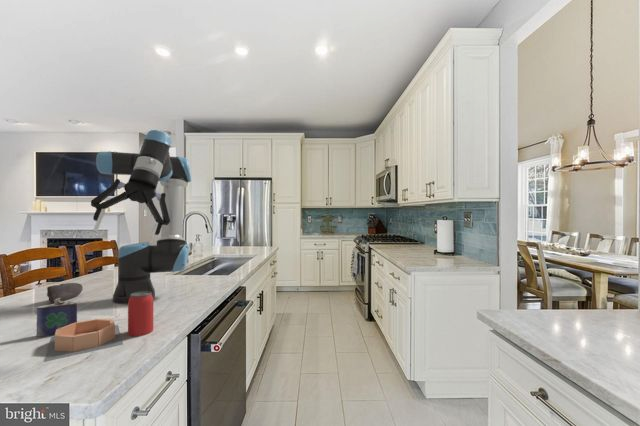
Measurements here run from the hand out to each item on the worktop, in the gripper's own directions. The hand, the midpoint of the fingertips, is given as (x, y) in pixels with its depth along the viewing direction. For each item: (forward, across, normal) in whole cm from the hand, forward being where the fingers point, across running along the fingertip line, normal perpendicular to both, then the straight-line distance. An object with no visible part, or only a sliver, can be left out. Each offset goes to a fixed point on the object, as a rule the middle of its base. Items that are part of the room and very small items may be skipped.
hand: (123, 238), depth 85 cm
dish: (+26, 0, +14) cm, 30 cm away
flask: (+26, -8, +26) cm, 37 cm away
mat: (+27, 0, +15) cm, 31 cm away
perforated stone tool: (+12, -13, +70) cm, 72 cm away
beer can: (+24, +12, +13) cm, 30 cm away
